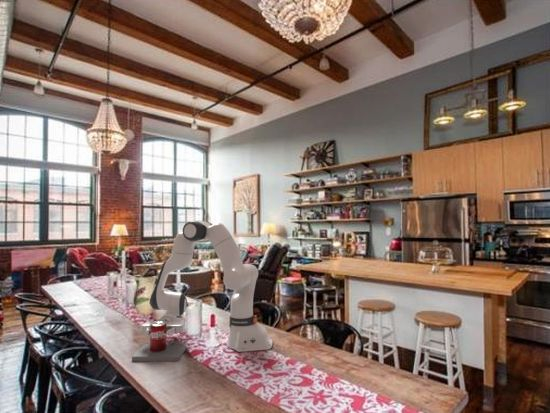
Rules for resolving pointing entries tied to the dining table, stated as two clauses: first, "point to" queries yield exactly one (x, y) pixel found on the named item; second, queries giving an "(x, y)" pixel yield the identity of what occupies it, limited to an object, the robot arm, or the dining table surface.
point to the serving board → (160, 353)
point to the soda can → (158, 336)
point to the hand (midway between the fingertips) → (157, 332)
